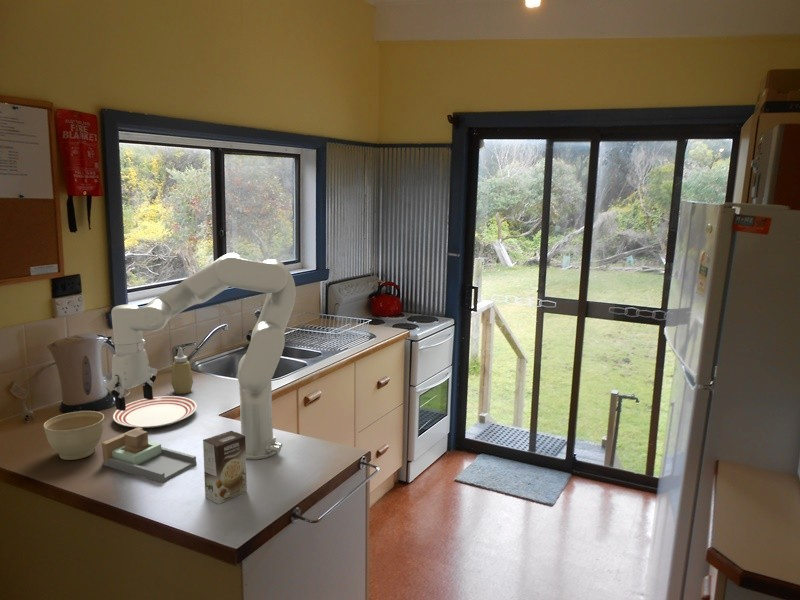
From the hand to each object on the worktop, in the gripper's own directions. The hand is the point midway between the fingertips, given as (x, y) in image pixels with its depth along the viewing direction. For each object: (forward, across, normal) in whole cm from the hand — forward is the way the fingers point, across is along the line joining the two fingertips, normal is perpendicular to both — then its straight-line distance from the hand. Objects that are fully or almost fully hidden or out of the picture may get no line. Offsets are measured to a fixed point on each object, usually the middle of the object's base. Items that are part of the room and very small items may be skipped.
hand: (135, 404), depth 179 cm
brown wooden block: (+16, 0, -1) cm, 16 cm away
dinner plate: (+18, -26, -23) cm, 39 cm away
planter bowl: (+18, +6, -21) cm, 28 cm away
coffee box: (+19, +4, +36) cm, 41 cm away
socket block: (+16, +1, -1) cm, 17 cm away
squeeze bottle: (+18, -50, -35) cm, 64 cm away
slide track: (+18, +1, +4) cm, 18 cm away
